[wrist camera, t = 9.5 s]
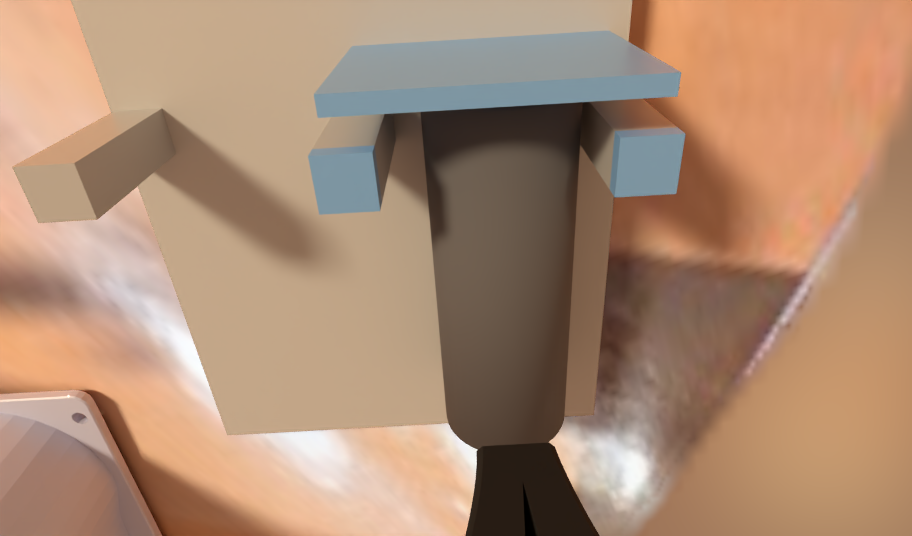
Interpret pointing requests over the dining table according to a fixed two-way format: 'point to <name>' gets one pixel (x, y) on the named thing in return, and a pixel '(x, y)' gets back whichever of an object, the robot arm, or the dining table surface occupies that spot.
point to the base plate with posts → (341, 179)
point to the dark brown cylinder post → (503, 264)
